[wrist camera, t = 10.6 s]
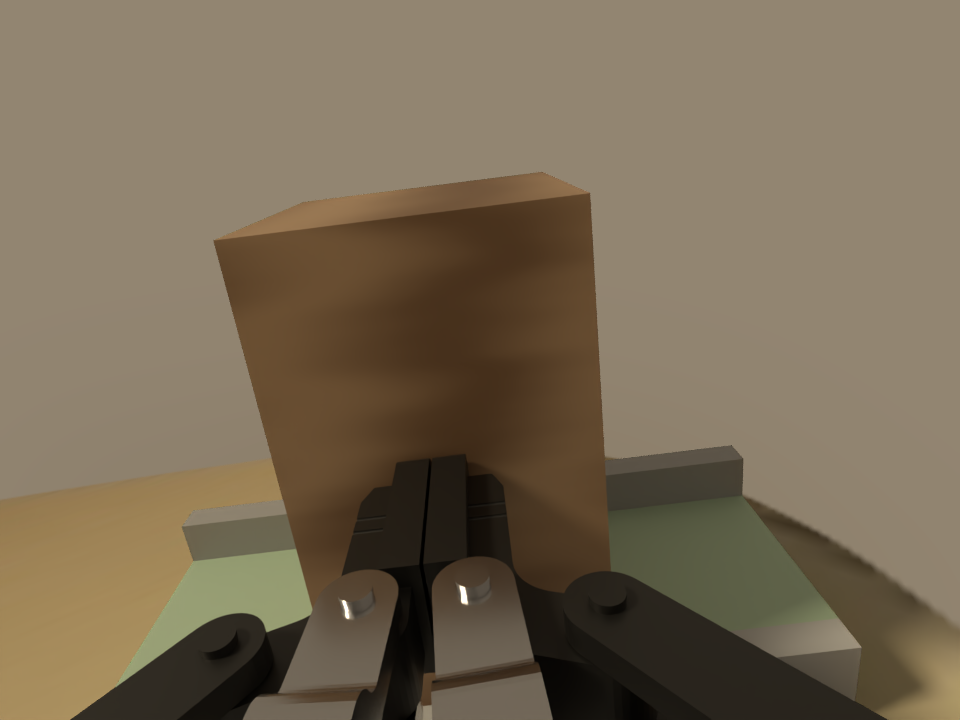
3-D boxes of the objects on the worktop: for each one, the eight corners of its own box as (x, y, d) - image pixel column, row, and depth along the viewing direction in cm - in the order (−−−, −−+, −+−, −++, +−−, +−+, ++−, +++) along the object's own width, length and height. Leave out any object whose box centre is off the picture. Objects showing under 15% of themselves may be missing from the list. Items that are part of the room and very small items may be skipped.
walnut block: (340, 715, 15) (213, 240, 11) (376, 542, 22) (303, 202, 18) (617, 683, 15) (589, 193, 11) (570, 519, 22) (542, 171, 18)
